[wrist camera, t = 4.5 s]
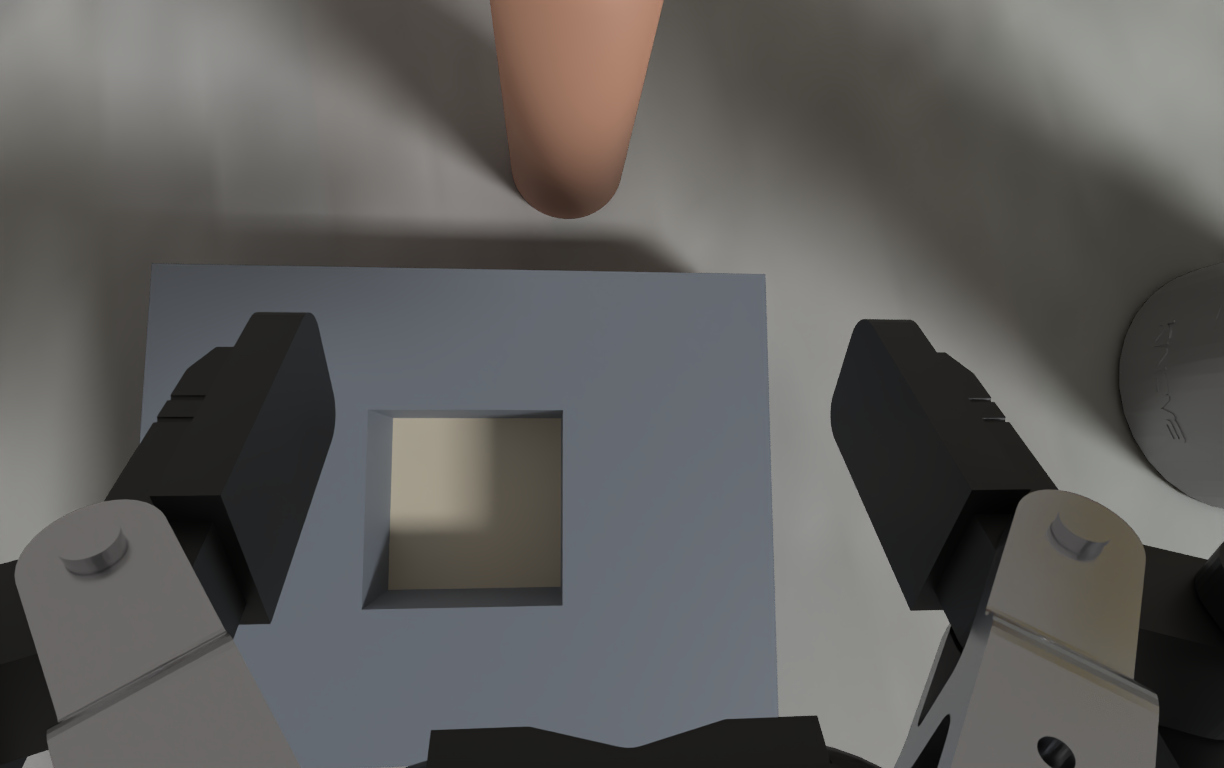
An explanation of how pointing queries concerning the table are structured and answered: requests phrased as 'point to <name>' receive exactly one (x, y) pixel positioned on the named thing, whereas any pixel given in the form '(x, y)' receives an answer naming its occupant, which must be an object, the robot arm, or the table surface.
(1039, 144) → the table surface
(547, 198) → the peg
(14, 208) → the table surface
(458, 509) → the socket block
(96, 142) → the table surface
